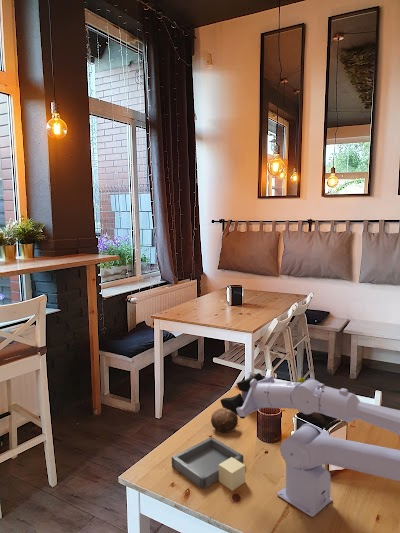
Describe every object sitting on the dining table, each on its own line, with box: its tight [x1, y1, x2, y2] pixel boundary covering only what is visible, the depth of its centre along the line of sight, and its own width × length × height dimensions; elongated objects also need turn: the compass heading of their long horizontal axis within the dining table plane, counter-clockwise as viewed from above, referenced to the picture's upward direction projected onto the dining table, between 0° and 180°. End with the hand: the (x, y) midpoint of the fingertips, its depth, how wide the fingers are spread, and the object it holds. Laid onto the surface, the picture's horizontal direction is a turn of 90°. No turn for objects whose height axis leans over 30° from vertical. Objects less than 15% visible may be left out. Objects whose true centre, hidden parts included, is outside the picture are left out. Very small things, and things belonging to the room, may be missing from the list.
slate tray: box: [171, 436, 244, 490], centre depth 103 cm, size 12×14×2 cm
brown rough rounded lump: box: [210, 407, 239, 433], centre depth 121 cm, size 8×8×6 cm
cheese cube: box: [218, 457, 246, 491], centre depth 97 cm, size 4×4×4 cm
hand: (230, 394), depth 103 cm, fingers open, 7 cm apart
